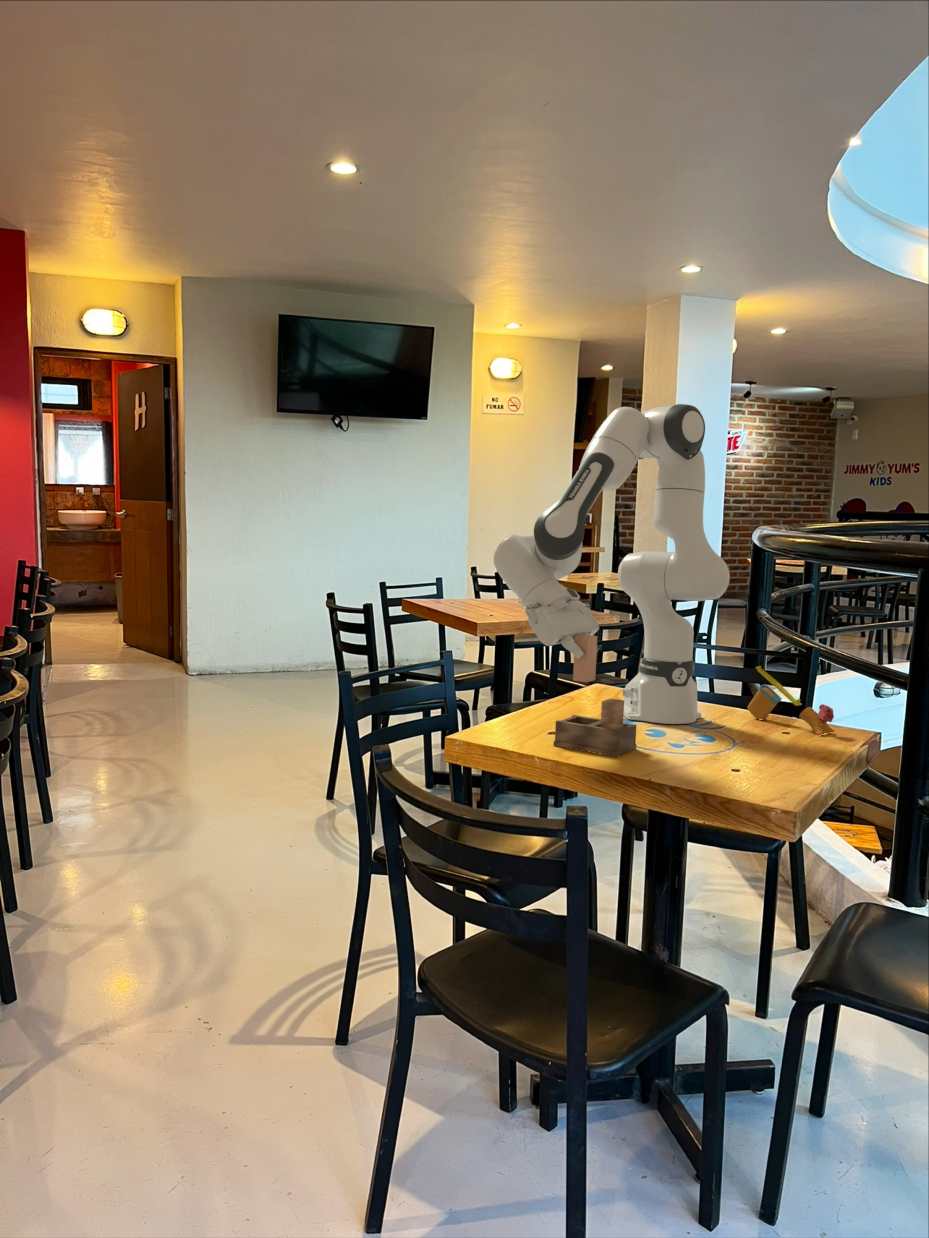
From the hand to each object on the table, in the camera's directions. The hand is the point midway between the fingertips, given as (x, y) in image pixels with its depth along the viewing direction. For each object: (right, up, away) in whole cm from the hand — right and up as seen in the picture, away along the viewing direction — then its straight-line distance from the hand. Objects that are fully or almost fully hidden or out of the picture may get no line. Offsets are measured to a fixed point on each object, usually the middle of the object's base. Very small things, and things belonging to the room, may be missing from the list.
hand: (588, 655), depth 183 cm
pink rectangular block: (-1, -5, +1) cm, 5 cm away
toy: (+50, -18, +26) cm, 59 cm away
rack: (+1, -19, +1) cm, 19 cm away
